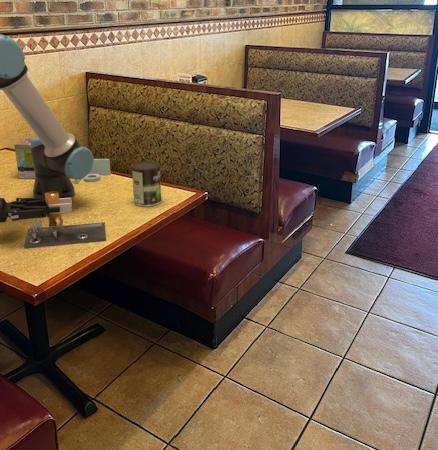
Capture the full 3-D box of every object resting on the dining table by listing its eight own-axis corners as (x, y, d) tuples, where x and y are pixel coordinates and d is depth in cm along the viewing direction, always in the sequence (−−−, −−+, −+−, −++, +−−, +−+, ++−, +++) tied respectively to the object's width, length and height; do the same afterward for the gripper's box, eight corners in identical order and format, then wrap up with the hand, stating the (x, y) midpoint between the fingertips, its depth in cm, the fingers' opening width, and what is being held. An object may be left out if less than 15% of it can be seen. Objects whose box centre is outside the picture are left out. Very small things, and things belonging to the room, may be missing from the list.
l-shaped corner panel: (75, 185, 202) (73, 167, 199) (82, 175, 213) (80, 158, 210) (105, 185, 202) (103, 167, 199) (110, 175, 213) (109, 158, 210)
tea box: (42, 179, 207) (37, 144, 201) (18, 179, 207) (12, 144, 201) (54, 168, 220) (49, 135, 214) (31, 168, 220) (26, 135, 214)
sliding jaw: (50, 227, 160) (45, 191, 155) (63, 226, 161) (58, 190, 156) (48, 239, 152) (43, 201, 147) (62, 238, 153) (57, 200, 148)
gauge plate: (28, 231, 160) (27, 221, 159) (105, 225, 165) (104, 214, 164) (24, 248, 150) (22, 237, 148) (106, 240, 155) (105, 229, 153)
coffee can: (165, 197, 188) (163, 161, 182) (156, 207, 179) (154, 170, 173) (139, 195, 190) (137, 160, 184) (129, 205, 181) (126, 168, 175)
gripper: (-2, 211, 160) (73, 205, 165) (-12, 233, 145) (72, 226, 150) (-6, 189, 157) (70, 184, 162) (-16, 210, 142) (69, 203, 147)
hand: (71, 204), depth 156 cm, fingers closed on sliding jaw, 4 cm apart
